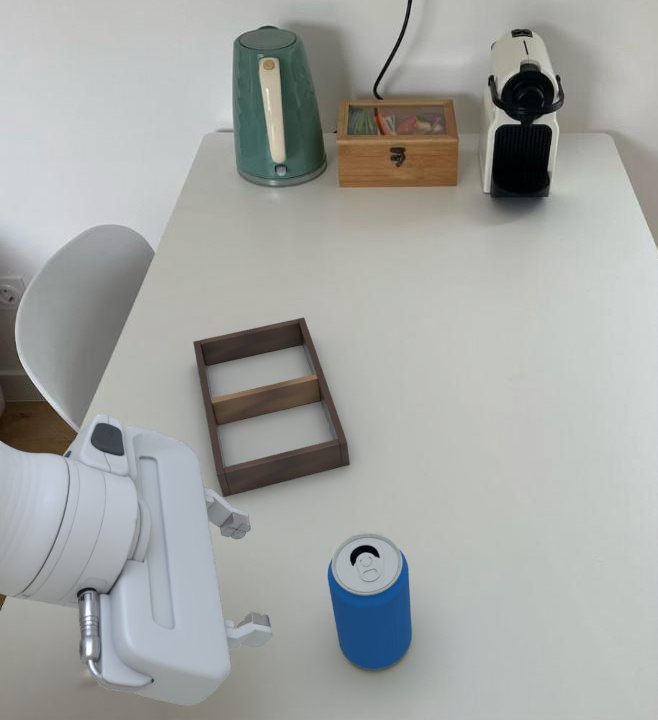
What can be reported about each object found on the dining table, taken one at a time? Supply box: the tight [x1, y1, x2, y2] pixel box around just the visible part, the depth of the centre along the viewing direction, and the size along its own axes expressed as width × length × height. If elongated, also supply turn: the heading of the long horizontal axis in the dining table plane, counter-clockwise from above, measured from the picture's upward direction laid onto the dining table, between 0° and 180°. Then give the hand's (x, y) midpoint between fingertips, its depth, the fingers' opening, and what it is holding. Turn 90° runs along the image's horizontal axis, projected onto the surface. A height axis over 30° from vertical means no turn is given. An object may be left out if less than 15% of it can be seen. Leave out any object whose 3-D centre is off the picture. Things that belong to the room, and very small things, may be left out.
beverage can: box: [327, 532, 413, 670], centre depth 68 cm, size 6×6×12 cm
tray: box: [192, 317, 351, 497], centre depth 92 cm, size 14×22×4 cm, turn 17°
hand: (255, 576), depth 60 cm, fingers open, 8 cm apart
